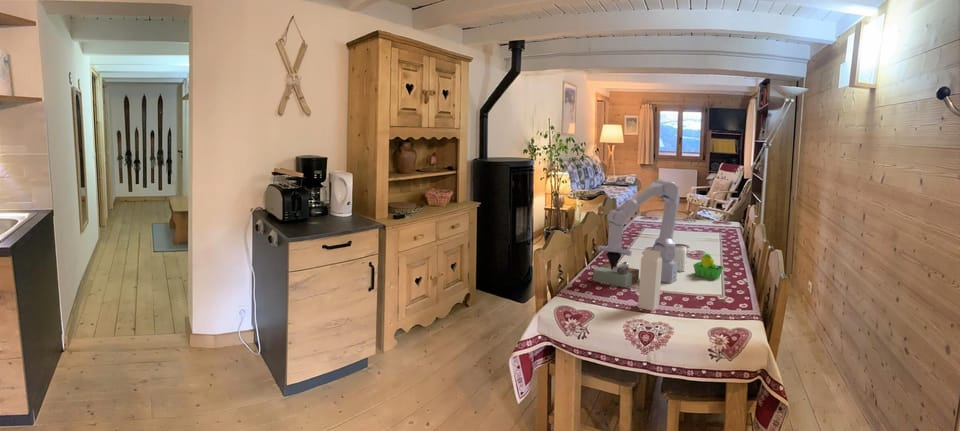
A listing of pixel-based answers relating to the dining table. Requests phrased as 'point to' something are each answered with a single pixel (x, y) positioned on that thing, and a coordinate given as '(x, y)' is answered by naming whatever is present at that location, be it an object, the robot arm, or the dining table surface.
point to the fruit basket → (707, 268)
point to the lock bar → (618, 267)
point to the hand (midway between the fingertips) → (613, 269)
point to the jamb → (634, 271)
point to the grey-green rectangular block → (613, 276)
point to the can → (680, 257)
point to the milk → (650, 280)
